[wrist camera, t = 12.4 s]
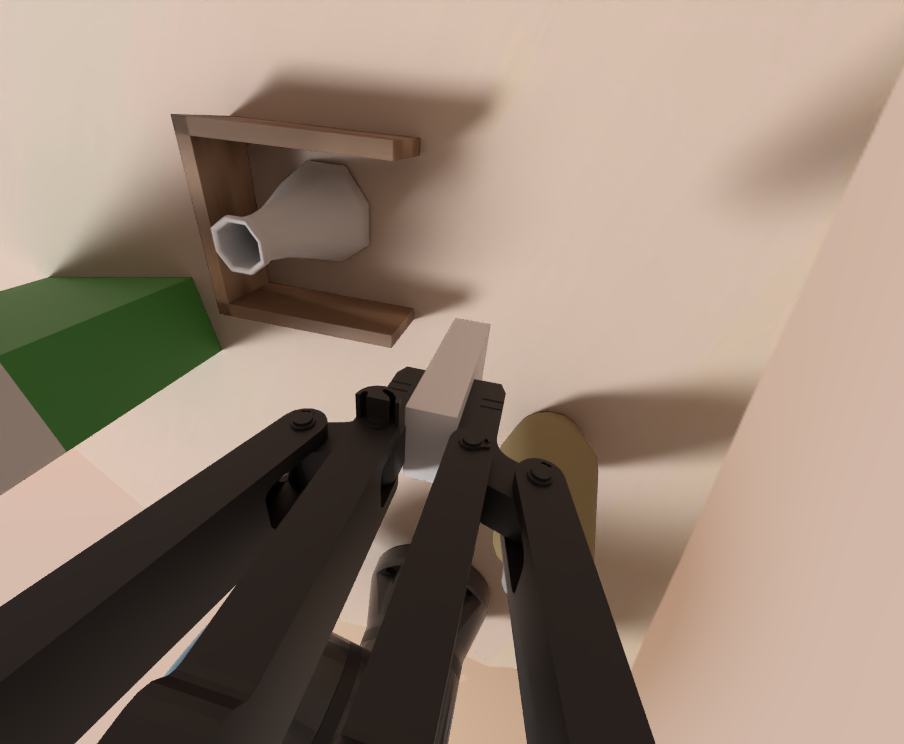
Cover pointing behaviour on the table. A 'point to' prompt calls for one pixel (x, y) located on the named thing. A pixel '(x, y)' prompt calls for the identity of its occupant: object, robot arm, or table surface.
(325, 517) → the robot arm
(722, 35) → the table surface
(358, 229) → the flask
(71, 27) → the table surface
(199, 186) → the box
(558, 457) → the squeeze bottle
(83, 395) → the hardback book
